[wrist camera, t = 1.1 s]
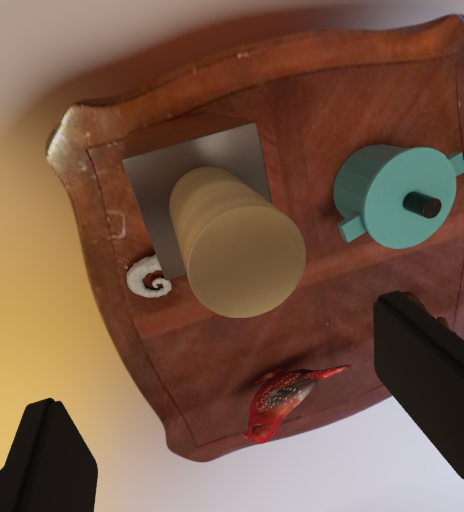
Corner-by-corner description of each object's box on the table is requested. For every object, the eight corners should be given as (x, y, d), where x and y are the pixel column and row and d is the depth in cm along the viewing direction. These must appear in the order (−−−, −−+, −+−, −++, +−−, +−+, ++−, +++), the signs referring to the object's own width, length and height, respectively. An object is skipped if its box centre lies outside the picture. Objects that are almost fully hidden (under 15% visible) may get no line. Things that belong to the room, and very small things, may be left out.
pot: (302, 183, 45) (332, 198, 38) (411, 116, 45) (460, 119, 38) (331, 248, 49) (362, 271, 43) (430, 187, 49) (476, 201, 43)
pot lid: (345, 181, 38) (368, 190, 34) (437, 125, 38) (470, 128, 34) (376, 262, 43) (399, 278, 40) (457, 213, 43) (488, 224, 39)
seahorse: (152, 332, 46) (301, 286, 46) (108, 278, 38) (289, 220, 37) (150, 301, 50) (289, 257, 49) (110, 245, 42) (276, 191, 41)
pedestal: (128, 132, 38) (120, 159, 20) (201, 112, 39) (256, 121, 21) (153, 203, 41) (165, 281, 23) (220, 183, 42) (280, 243, 24)
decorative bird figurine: (225, 388, 55) (242, 444, 46) (328, 332, 55) (364, 377, 46) (233, 400, 56) (251, 457, 47) (333, 345, 56) (370, 391, 47)
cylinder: (158, 179, 21) (170, 228, 13) (236, 156, 21) (296, 189, 13) (182, 252, 23) (206, 334, 15) (253, 229, 23) (313, 296, 15)
